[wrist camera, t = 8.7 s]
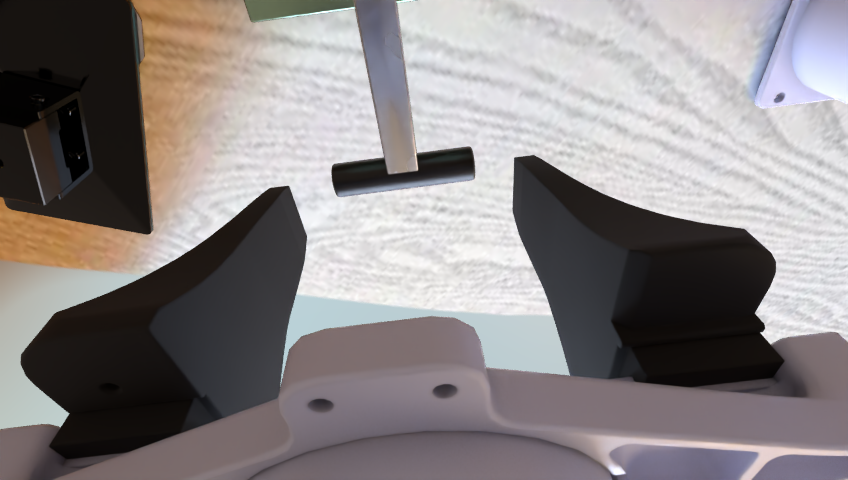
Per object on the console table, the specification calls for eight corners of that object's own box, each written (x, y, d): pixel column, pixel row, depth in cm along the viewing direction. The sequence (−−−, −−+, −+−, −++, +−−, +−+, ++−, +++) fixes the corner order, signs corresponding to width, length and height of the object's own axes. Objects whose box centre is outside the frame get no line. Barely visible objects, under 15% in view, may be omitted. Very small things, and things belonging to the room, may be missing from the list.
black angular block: (-74, -65, 16) (-217, -60, 12) (142, 1, 17) (76, 22, 14) (11, 205, 23) (-63, 261, 19) (158, 233, 24) (118, 288, 21)
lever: (468, 158, 16) (478, 196, 15) (341, 174, 16) (337, 214, 15) (452, -334, 8) (471, -379, 7) (203, -297, 8) (157, -332, 7)
